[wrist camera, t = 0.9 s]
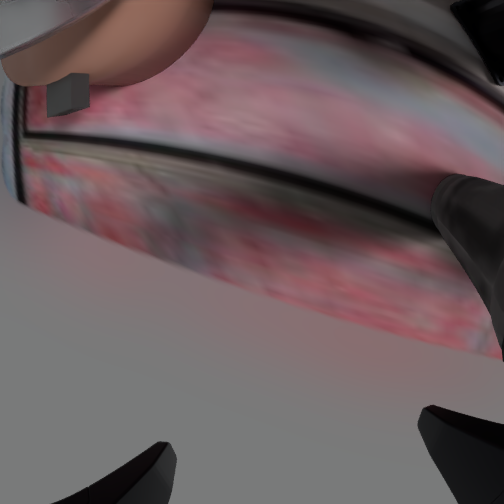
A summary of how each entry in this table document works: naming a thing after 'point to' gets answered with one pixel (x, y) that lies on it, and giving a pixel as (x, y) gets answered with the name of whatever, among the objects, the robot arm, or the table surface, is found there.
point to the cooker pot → (109, 49)
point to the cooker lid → (39, 20)
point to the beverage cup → (475, 236)
